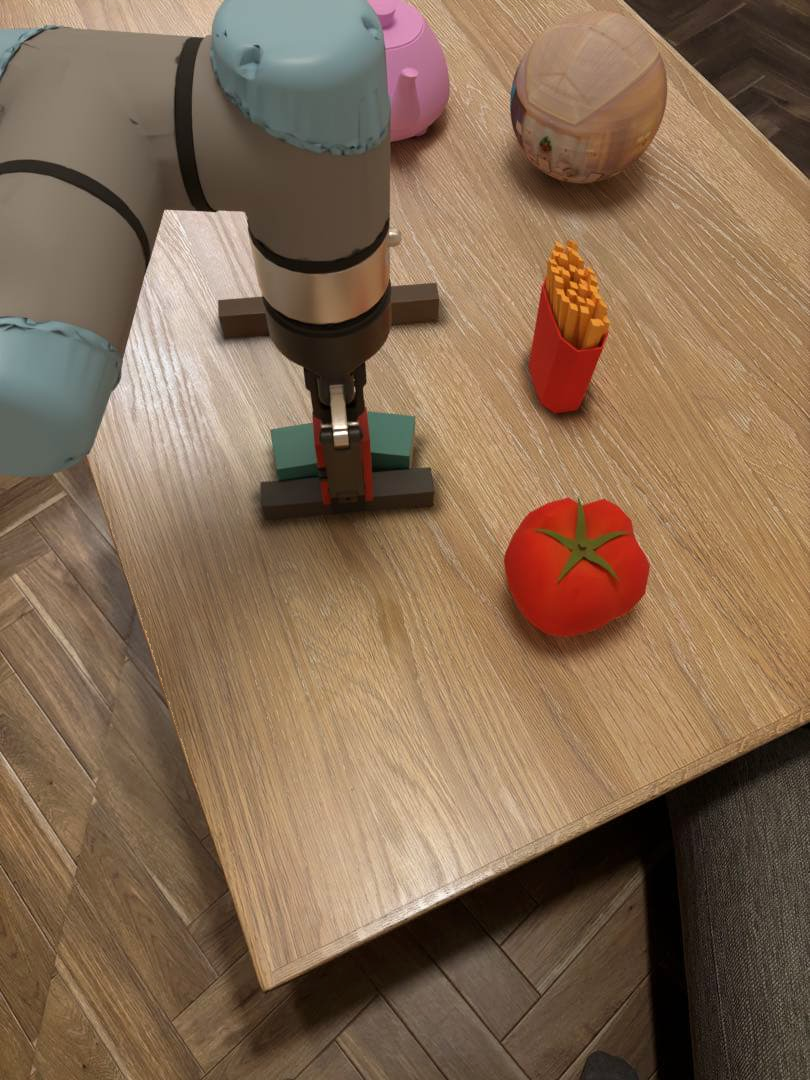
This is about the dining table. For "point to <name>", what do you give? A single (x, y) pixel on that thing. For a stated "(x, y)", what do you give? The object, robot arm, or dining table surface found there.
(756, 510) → the dining table surface
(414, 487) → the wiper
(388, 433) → the cube
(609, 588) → the tomato
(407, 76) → the teapot
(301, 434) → the cube
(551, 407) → the french fries
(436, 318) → the strip
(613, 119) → the ornament
